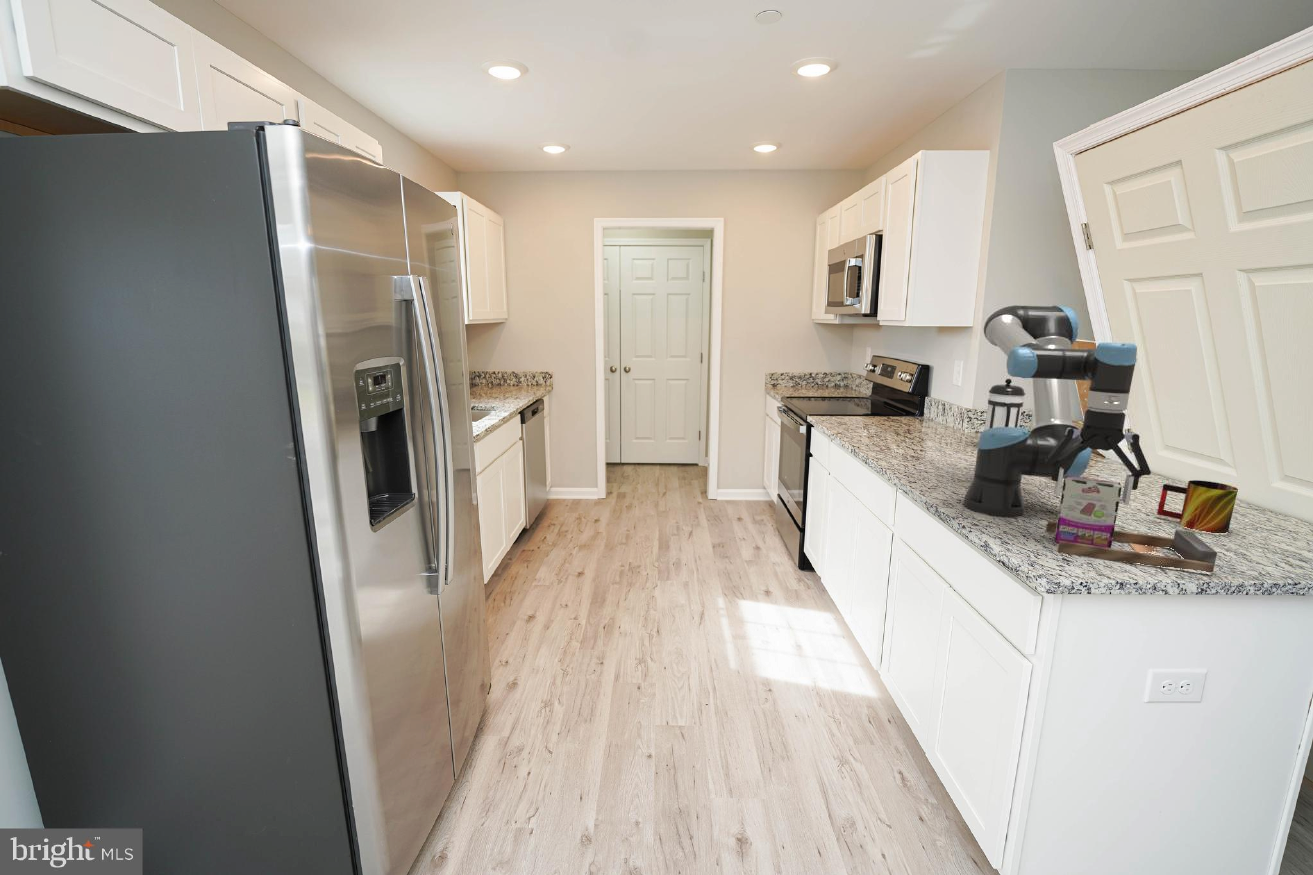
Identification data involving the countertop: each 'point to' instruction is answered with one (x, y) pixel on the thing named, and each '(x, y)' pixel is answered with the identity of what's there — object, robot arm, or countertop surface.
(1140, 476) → the robot arm
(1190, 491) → the mug
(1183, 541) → the guide channel
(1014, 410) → the coffee press
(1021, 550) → the countertop surface
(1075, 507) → the candy bar box
